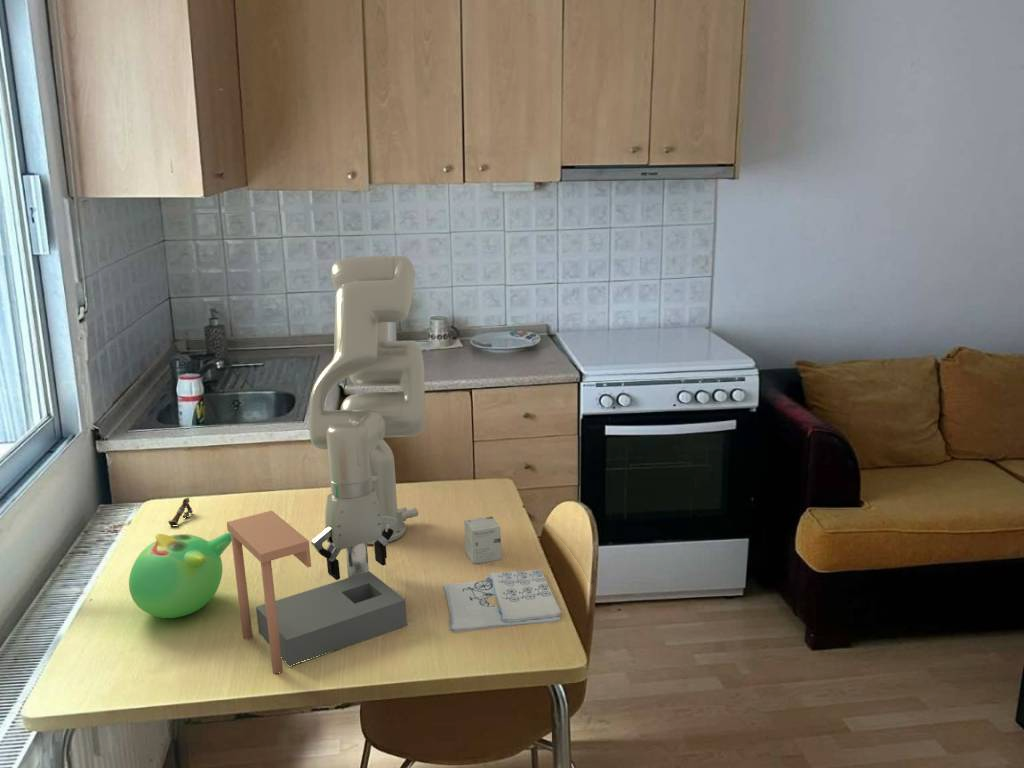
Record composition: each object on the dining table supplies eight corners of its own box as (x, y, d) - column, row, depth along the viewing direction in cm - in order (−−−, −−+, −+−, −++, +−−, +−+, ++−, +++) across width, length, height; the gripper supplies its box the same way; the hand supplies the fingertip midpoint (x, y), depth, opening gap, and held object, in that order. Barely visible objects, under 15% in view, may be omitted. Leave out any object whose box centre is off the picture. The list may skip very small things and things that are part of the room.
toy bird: (158, 586, 185) (148, 517, 181) (243, 585, 185) (235, 515, 181) (118, 634, 168) (106, 558, 164) (212, 633, 167) (203, 557, 163)
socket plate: (371, 595, 179) (369, 571, 178) (407, 625, 168) (405, 599, 167) (258, 632, 167) (255, 606, 166) (289, 667, 156) (286, 640, 155)
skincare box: (473, 564, 190) (471, 531, 188) (465, 552, 196) (463, 519, 194) (502, 559, 192) (500, 526, 190) (493, 547, 198) (491, 515, 196)
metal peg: (364, 579, 186) (360, 531, 183) (373, 586, 183) (369, 538, 180) (345, 585, 184) (341, 537, 181) (354, 592, 180) (350, 544, 178)
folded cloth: (562, 623, 168) (562, 612, 167) (449, 636, 165) (448, 624, 165) (543, 575, 186) (543, 565, 186) (440, 586, 183) (439, 575, 183)
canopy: (283, 621, 171) (271, 510, 165) (320, 659, 158) (308, 540, 152) (240, 635, 166) (226, 522, 161) (274, 676, 154) (260, 554, 148)
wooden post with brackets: (196, 509, 221) (190, 495, 218) (181, 534, 215) (175, 521, 212) (189, 508, 221) (183, 495, 219) (174, 534, 215) (167, 520, 213)
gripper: (383, 470, 185) (389, 551, 190) (300, 491, 176) (308, 575, 180) (401, 481, 179) (407, 564, 184) (316, 503, 170) (324, 590, 174)
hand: (358, 570), depth 182 cm, fingers open, 9 cm apart
